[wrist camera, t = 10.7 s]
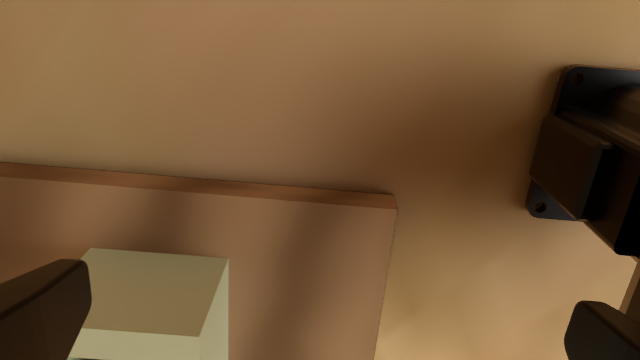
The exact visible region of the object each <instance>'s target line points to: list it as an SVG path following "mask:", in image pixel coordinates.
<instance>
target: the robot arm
mask: <svg viewBox="0 0 640 360" xmlns="http://www.w3.org/2000/svg"><path fill="white" fill-rule="evenodd" d="M575 73H578V74H579V79H578V80H577V82H575V83H573V84H571V77H572V75H574V74H575ZM529 174H530V176H531V177H532V180H531V184H530V188H529V191H528V195H527V199H526V202H525V207H526V209H527V211H528V212H529V213H530V214H531V215H532V216H533V217H536V218H546V219H558V220H570V221H581V222H583V223H584V224H585V225H586V226H587V227H588V228H590V229H591V230H592V231H593V232H594V233H595V234H596V235H597V236H598V237H599V238H600V239H601V240H602V241H603V242H604V243H605V244H607V245H608V246H609V247H610V248H611V249H612V250H613V251H614V252H615V253H616V254H619V255H626V256H631V257H632V258H633V259H634V260H635V261H636V262H637V265H636V268H635V270H634V273H633V276H632V278H631V281H630V283H629V286H628V288H627V291H626V293H625V296H624V299H623V301H622V304H621V306H620V309H619V311H618V310H616V309H615V308H613V307H611V306H609V305H607V304H605V303H603V302H596V301H580V302H578V303H577V304H576V305H575V308H574V310H573V313H572V316H571V319H570V322H569V325H568V327H567V330H566V333H565V337H564V346H565V350H566V353H567V356H568V359H569V360H640V70H634V69H622V68H611V67H599V66H588V65H570V66H568V67H566V68H565V69H564V70H563V71H562V73H561V75H560V77H559V81H558V85H557V88H556V92H555V96H554V99H553V103H552V107H551V110H550V114H549V115H547V116H546V117H545V118H544V119H543V123H542V127H541V130H540V134H539V138H538V142H537V145H536V149H535V153H534V157H533V160H532V164H531V168H530V171H529ZM539 202H543V204H542V206H541V207H540V208H538V209H535V205H536V204H537V203H539ZM91 304H92V294H91V285H90V277H89V269H88V265H87V263H86V262H85V261H84V260H80V259H68V258H62V259H58V260H56V261H54V262H51V263H49V264H46V265H44V266H41V267H39V268H37V269H34V270H32V271H29V272H27V273H24V274H22V275H20V276H17V277H15V278H12V279H10V280H7V281H5V282H3V283H0V360H67V359H68V357H69V354H70V352H71V350H72V348H73V346H74V344H75V341H76V339H77V337H78V335H79V333H80V331H81V329H82V326H83V324H84V322H85V320H86V318H87V316H88V313H89V311H90V308H91Z"/></svg>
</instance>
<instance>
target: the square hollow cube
mask: <svg viewBox="0 0 640 360" xmlns="http://www.w3.org/2000/svg"><path fill="white" fill-rule="evenodd" d="M80 260H84V261H85V262H86V263H87V265H88V269H89V277H90V285H91V294H92V304H91V308H90V311H89V313H88V316H87V318H86V320H85V322H84V324H83V326H82V329H81V331H80V333H79V335H78V337H77V339H76V341H75V344H74V346H73V348H72V350H71V352H70V354H69V357H68V359H67V360H228V263H229V258H218V257H205V256H192V255H179V254H166V253H153V252H140V251H126V250H113V249H100V248H90V249H89V250H88V251H87V252H86V253H85V254H84V255H83V256H82V257H81V259H80Z"/></svg>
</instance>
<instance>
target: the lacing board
mask: <svg viewBox="0 0 640 360" xmlns="http://www.w3.org/2000/svg"><path fill="white" fill-rule="evenodd" d="M397 211H398V209H397V206H396V202H395V199H394V195H388V194H376V193H364V192H352V191H340V190H328V189H317V188H305V187H293V186H281V185H269V184H257V183H245V182H233V181H221V180H209V179H197V178H185V177H173V176H161V175H149V174H137V173H125V172H114V171H102V170H90V169H78V168H66V167H54V166H42V165H30V164H18V163H6V162H0V283H3V282H5V281H7V280H10V279H12V278H15V277H17V276H20V275H22V274H24V273H27V272H29V271H32V270H34V269H37V268H39V267H41V266H44V265H46V264H49V263H51V262H54V261H56V260H58V259H62V258H68V259H81V257H82V256H83V255H84V254H85V253H86V252H87V251H88V250H89V249H90V248H100V249H113V250H126V251H140V252H153V253H166V254H179V255H192V256H205V257H218V258H229V263H228V360H374V355H375V349H376V342H377V336H378V330H379V324H380V317H381V311H382V305H383V299H384V292H385V286H386V280H387V274H388V268H389V261H390V255H391V249H392V243H393V236H394V230H395V224H396V218H397Z"/></svg>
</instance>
